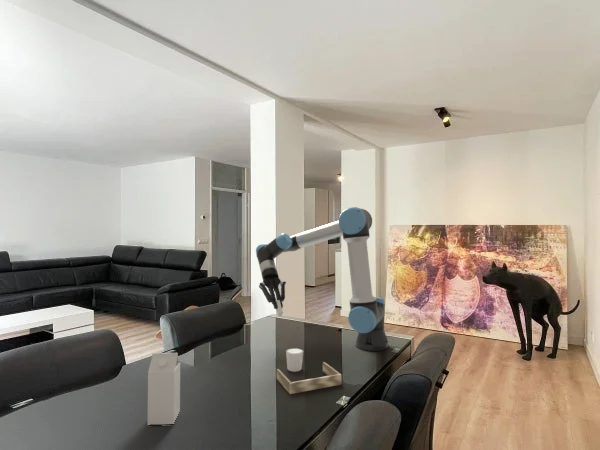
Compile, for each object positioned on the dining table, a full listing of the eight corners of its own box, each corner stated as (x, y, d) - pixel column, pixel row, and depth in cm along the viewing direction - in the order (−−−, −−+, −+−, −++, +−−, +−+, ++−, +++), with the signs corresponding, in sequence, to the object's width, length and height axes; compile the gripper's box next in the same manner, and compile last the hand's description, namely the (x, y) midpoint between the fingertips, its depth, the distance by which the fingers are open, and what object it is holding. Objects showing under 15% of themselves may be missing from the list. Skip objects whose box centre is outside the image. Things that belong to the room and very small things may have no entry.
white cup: (301, 372, 139) (301, 354, 139) (284, 371, 140) (284, 353, 140) (304, 366, 146) (304, 348, 146) (288, 364, 147) (288, 347, 147)
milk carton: (155, 413, 108) (156, 349, 108) (180, 412, 108) (180, 348, 108) (147, 426, 101) (148, 357, 101) (173, 425, 101) (174, 357, 101)
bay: (324, 370, 141) (324, 361, 141) (341, 384, 128) (341, 374, 128) (276, 378, 133) (276, 369, 133) (289, 394, 121) (289, 383, 121)
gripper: (279, 276, 178) (292, 318, 163) (254, 277, 173) (264, 320, 158) (283, 266, 173) (296, 308, 158) (257, 267, 168) (268, 311, 153)
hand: (280, 314), depth 158 cm, fingers closed
